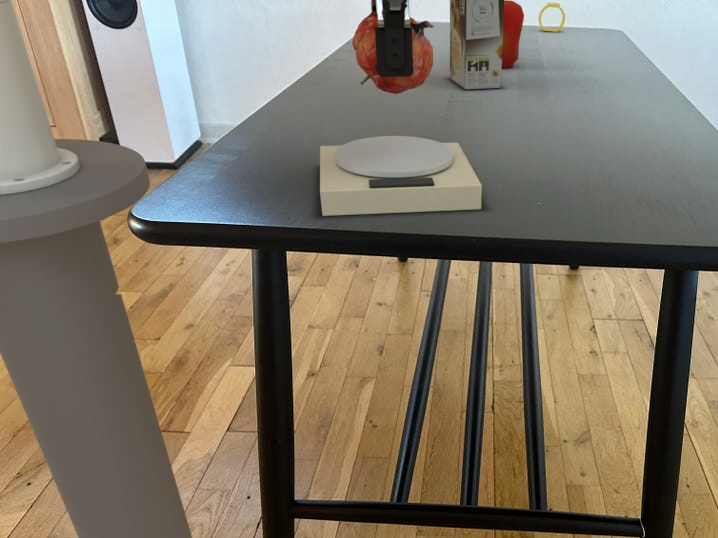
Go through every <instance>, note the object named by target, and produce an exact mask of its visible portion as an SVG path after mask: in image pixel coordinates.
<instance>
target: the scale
mask: <svg viewBox="0 0 718 538" xmlns="http://www.w3.org/2000/svg"><path fill="white" fill-rule="evenodd" d="M461 147H462V146H461V145H460V143H459V142H440V141H437V140H433V139H429V138H425V137H417V136H409V135H407V136H406V135H380V136H371V137H365V138H359V139H355V140H351V141H349V142H346V143H343V144H342V145H320V146H319V195H320V206H321V213H322V216H323V217H331V216H332V217H333V216H353V215H354V216H355V215H358V216H359V215H379V214H403V213H405V214H406V213H423V212H447V211H449V212H450V211H470V210H475V211H476V210H482V199H483V198H482V194H483V185H482V183H481V181H480V180H479V178H478V176H477V174H476V173H475V171H474V169H473V167H472V165H471V163H470V162H469V160H468V158H467V156H466V154H465V152H464V151H463V149H462V148H461Z"/></svg>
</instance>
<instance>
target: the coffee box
mask: <svg viewBox="0 0 718 538" xmlns="http://www.w3.org/2000/svg"><path fill="white" fill-rule="evenodd" d="M504 1H505V0H449V79H450V80H452V81H453V82H454V83H456V84H457V85H459V86H460V87H462V88H463V89H465V90H482V89H500V88H501V87H502V72H503V71H502V70H503V68H502V47H503V23H504Z"/></svg>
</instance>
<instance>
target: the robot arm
mask: <svg viewBox="0 0 718 538" xmlns="http://www.w3.org/2000/svg"><path fill="white" fill-rule="evenodd" d="M383 9H384V10H383ZM370 10H371V12H374V11H375V12H377V21H378V27H375V42H376V61H377V73H378V75H379V76H380V77H409V76H412V74H413V42H412V27H410V17H411V11H410V0H370ZM369 15H370V13H369V14H368V16H369ZM23 36H24V35H23V34H22V30H21V27H20V23H19V21H18V17H17V14H16V11H15V7H14V3H13V1H12V0H0V195H9V194H16V193H23V192H28V191H33V190H37V189H41V188H45V187H49V186H52V185H55V184H58V183H60V182H62V181H65V180H67V179H69V178H70V177H72V176H74V175H75V174H76V173H77V172H78V171H79V169H80V164H79V161H78V157H77V156H76V154H74V153H72V152H71V151H68V150H65V149H61V148H57V146H56V143H55V140H54V139H55V138H54V134H53V131H52V127H51V124H50V120H49V117H48V115H47V111H46V108H45V104H44V101H43V98H42V95H41V92H40V88H39V85H38V82H37V79H36V76H35V73H34V69H33V66H32V63H31V59H30V56H29V53H28V49H27V46H26V44H25V43H26V42H25V40H24V37H23Z"/></svg>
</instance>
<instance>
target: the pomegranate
mask: <svg viewBox="0 0 718 538" xmlns="http://www.w3.org/2000/svg"><path fill="white" fill-rule="evenodd" d="M383 10H384V9H383ZM369 14H370V15H369ZM369 14H368V15H367V16H366V17H364V18H363V19H362V20H361V21H360V23H359V24H358V25H357V28H356V30H355V31H354V35H353V37H352V41H351V42H352V43H351V44H352V47H353V50H354V51H355V57H356V63H357V65H358V66H359V67H360V68H361V70H362V71H363V72H364V73H365V74H366V75H367V76H365V78H364V79H363V81H361V82H360V85H361V86H362V85H364V84H365V83H366V82H367V81H368V80H371V81H372V82H373V83H374V85H375V86H376V87H375V88H377V89H379V90H381V91H383V92H384V93H389V94H395V95H398V94H402V93H404V92H407V91H408V90H412V89H416V88H418V87H421V86H422V85H423V84H424V83H425V81H426V80H427V78H428V77H430V74H431V71H432V69H433V66H434V47H433V45H432V44H431V41H430V40H429V39H428V38H427V37H426V36H425V29H427V28H431V29H432V28H434V27H435V26H434V25H433V24H432V23H430V22H429V21H428V20H423V21H421V22H418V21H416V20H415V19H414V17H411V16H410V27H412V42H413V74H412V76H409V77H380V76H379V75H378V73H377V61H376V42H375V27H378V21H377V12H375V11H374V12H372V11H371V12H370V13H369Z"/></svg>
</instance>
